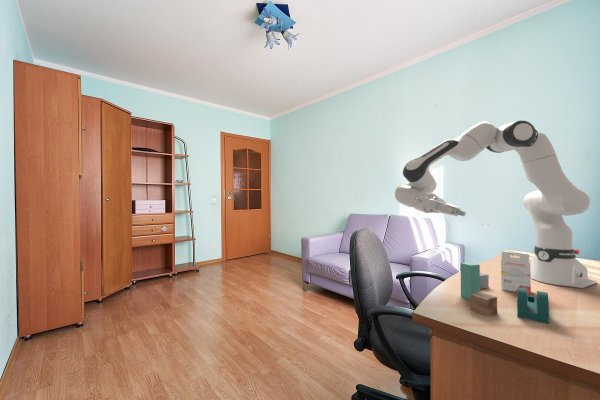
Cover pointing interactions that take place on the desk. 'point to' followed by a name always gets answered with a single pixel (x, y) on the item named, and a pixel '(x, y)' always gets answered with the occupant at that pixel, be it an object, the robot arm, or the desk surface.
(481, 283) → the slate grey block
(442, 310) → the desk surface
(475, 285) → the teal block
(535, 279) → the robot arm
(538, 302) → the bracket
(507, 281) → the ink cartridge box
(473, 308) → the walnut block
